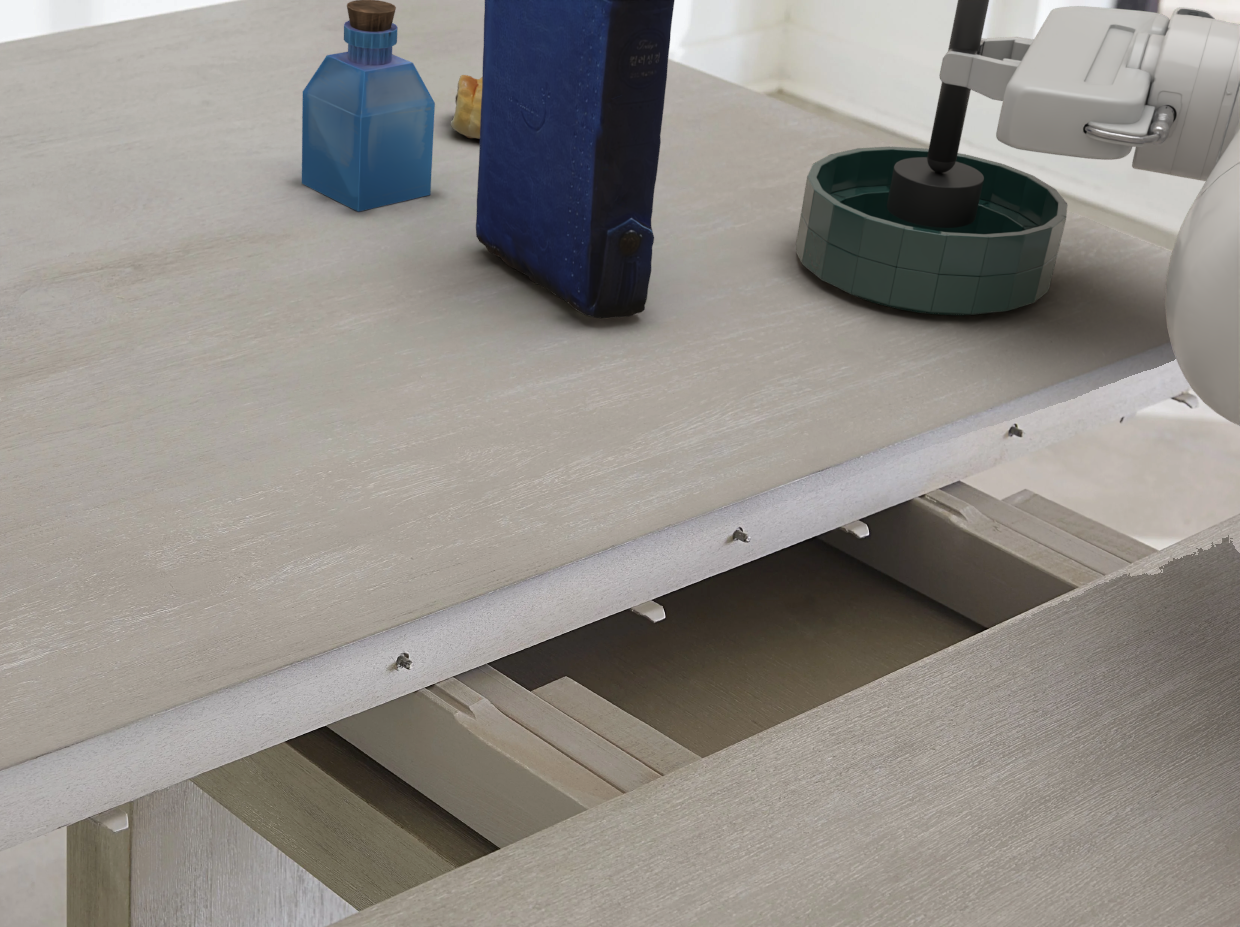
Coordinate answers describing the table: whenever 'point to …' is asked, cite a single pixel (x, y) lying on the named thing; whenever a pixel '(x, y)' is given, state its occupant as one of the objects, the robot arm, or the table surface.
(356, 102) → the perfume bottle
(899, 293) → the bowl
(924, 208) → the black stand
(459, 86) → the pastry
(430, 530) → the table surface
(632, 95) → the book
